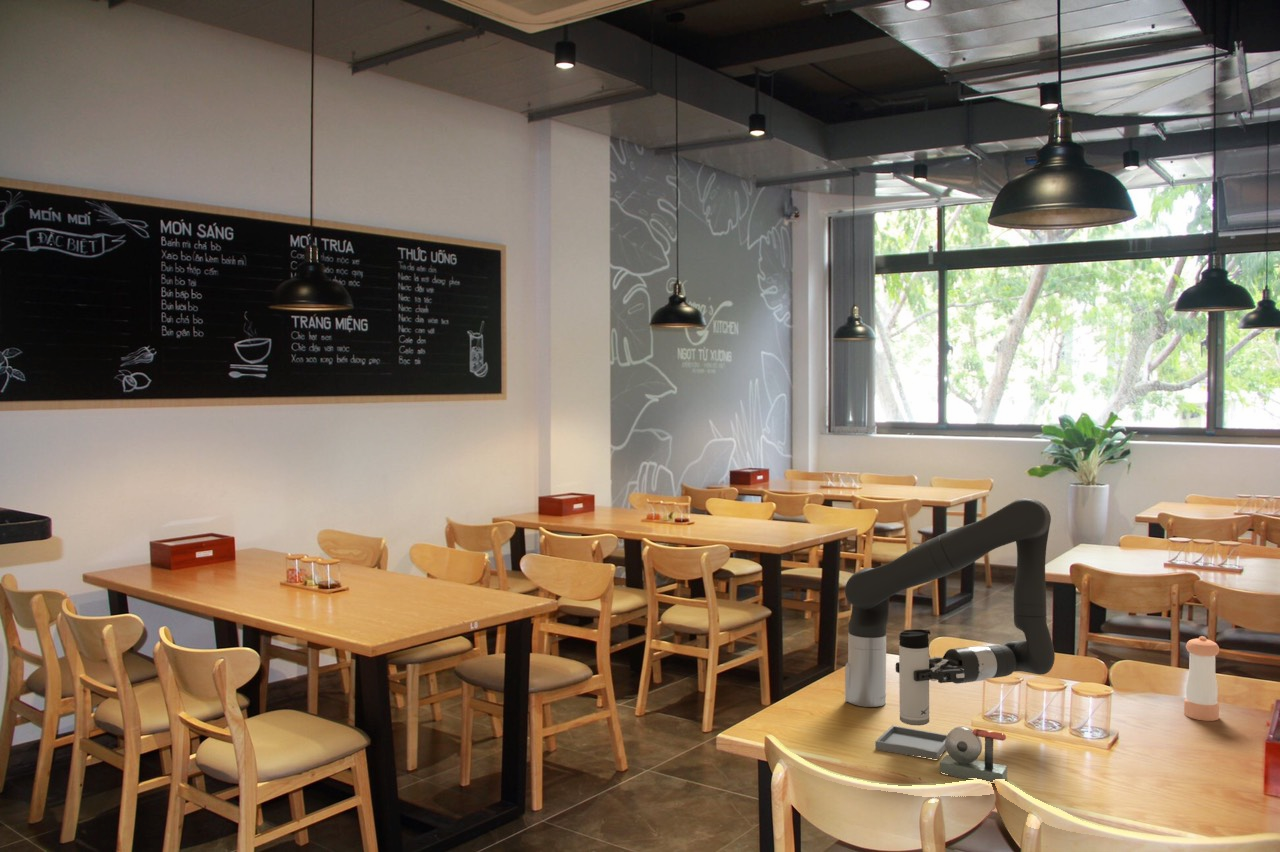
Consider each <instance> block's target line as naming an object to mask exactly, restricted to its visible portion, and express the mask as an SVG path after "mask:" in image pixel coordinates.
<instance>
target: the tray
mask: <svg viewBox="0 0 1280 852" xmlns="http://www.w3.org/2000/svg"><path fill="white" fill-rule="evenodd" d="M947 735H948V734H943V733H938V732H932V731H927V730H921V729H915V728H911V727H910V728H909V727H904V726H898V725H893V724H892V725H891V726H890V727H889V728H888V729H887V730H886V731H884V733H883V734H882V735H880V736H879V737H878V738H877V739H875V743H874V744H875V747H874V748H875V749H874V750H876V749H877V750H876V751H881V750H883V751H882V752H886V751H889V752H888V753H891V752H894V753H893V754H897V753H900V754H899V755H902V754H905V755H904V756H907V755H914V756H921V757H926V758H932V759H938V758H939V757H940V755H941V754H942V753H943V752H944V751H945V750H946V748H945V739H946V736H947ZM945 752H946V751H945ZM945 752H944V753H945ZM944 753H943V754H944ZM906 754H907V755H906ZM943 754H942V755H943ZM940 758H941V757H940ZM940 758H939V759H940ZM939 759H938V760H939Z"/></svg>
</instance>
